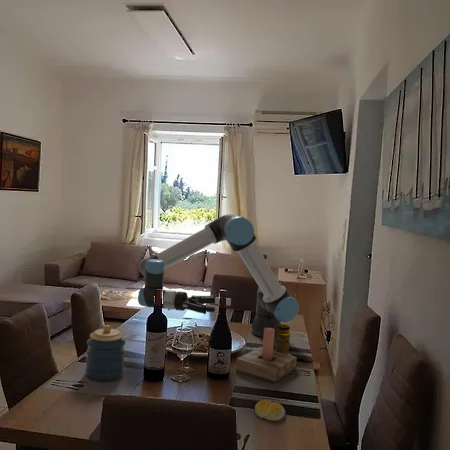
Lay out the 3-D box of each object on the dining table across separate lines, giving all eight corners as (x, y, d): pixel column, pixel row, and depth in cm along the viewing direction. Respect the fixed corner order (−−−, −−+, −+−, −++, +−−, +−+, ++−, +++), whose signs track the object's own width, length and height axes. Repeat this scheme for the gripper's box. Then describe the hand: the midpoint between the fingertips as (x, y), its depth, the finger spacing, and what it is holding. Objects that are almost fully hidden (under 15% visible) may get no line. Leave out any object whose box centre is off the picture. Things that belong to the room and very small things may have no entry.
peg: (264, 365, 181) (267, 327, 180) (273, 368, 179) (276, 329, 178) (259, 368, 178) (262, 329, 177) (268, 370, 176) (271, 331, 174)
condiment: (292, 355, 198) (295, 327, 197) (277, 358, 193) (279, 329, 192) (281, 349, 204) (283, 322, 203) (266, 352, 199) (268, 324, 198)
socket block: (259, 359, 190) (260, 347, 190) (295, 369, 181) (296, 357, 181) (235, 371, 175) (236, 358, 175) (274, 383, 166) (275, 370, 166)
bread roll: (261, 405, 149) (262, 393, 149) (287, 414, 144) (288, 401, 144) (249, 415, 142) (250, 402, 142) (276, 424, 137) (277, 411, 137)
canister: (89, 384, 155) (92, 332, 153) (81, 370, 166) (84, 321, 165) (128, 380, 161) (131, 329, 159) (118, 366, 172) (121, 318, 171)
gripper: (184, 302, 203) (232, 307, 199) (165, 317, 179) (219, 323, 175) (185, 285, 203) (233, 290, 198) (166, 298, 178) (220, 303, 174)
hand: (227, 306), depth 186 cm, fingers open, 13 cm apart
